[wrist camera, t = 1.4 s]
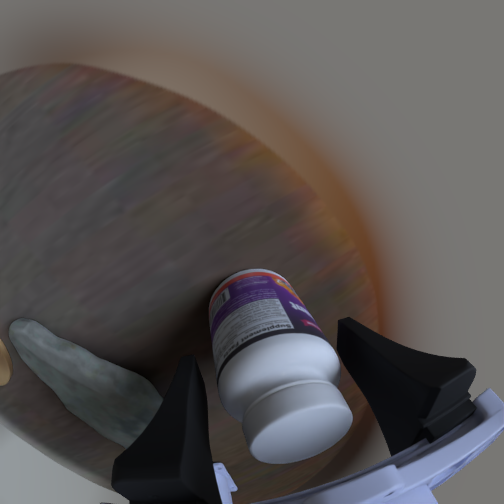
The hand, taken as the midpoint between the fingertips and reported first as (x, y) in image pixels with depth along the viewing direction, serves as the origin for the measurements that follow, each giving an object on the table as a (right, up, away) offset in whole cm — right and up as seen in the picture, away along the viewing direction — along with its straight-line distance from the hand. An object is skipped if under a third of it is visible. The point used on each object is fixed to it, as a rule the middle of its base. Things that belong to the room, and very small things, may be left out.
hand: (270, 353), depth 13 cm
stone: (-12, -5, +5) cm, 14 cm away
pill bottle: (-1, +2, +4) cm, 5 cm away
